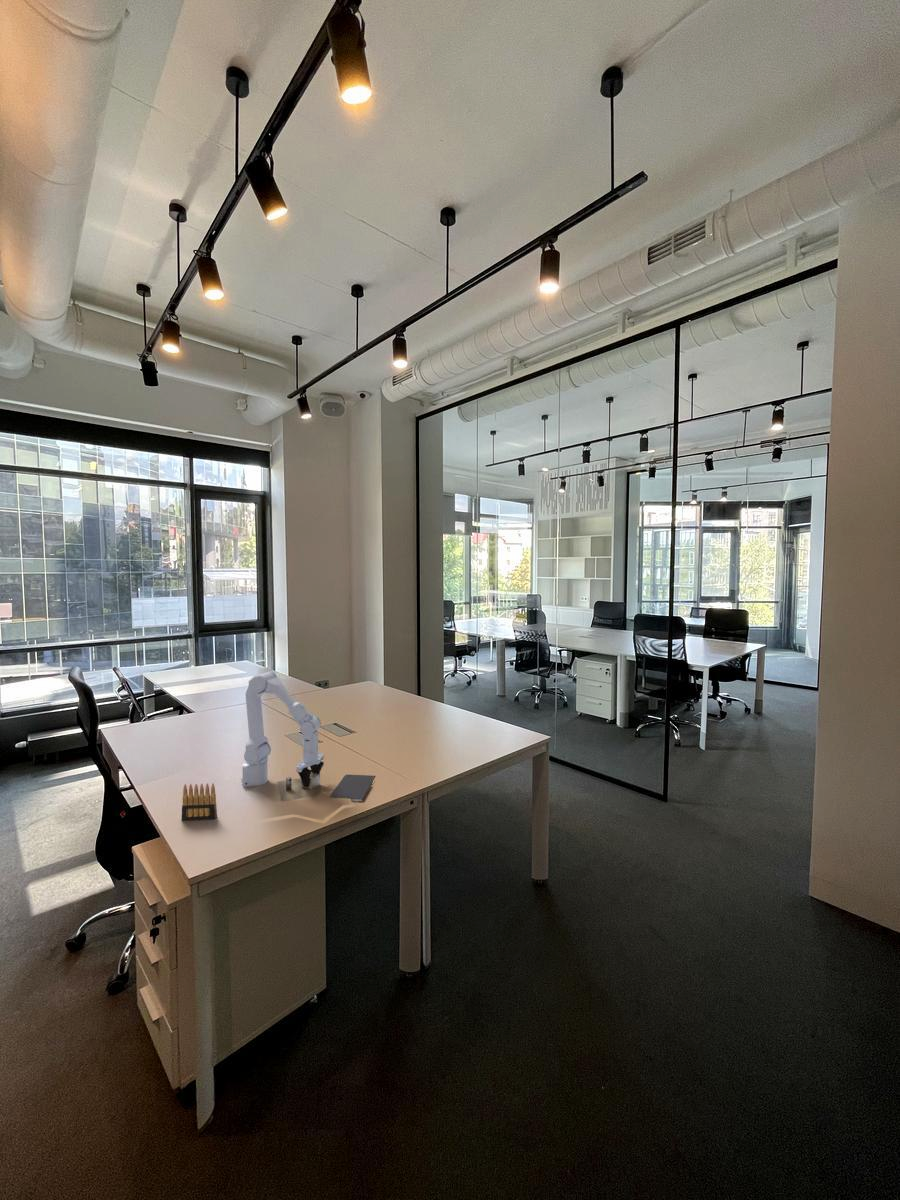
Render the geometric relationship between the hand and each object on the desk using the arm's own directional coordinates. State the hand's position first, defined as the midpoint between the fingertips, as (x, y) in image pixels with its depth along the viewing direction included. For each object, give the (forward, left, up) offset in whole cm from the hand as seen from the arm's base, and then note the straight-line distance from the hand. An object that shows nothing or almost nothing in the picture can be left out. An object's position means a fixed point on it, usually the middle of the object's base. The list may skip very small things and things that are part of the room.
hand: (310, 783), depth 186 cm
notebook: (+15, -6, -3) cm, 17 cm away
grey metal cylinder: (-8, 0, -1) cm, 8 cm away
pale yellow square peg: (0, 0, -1) cm, 1 cm away
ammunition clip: (-37, -10, -2) cm, 39 cm away
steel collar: (0, 0, -1) cm, 1 cm away
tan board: (-4, 0, -2) cm, 4 cm away
